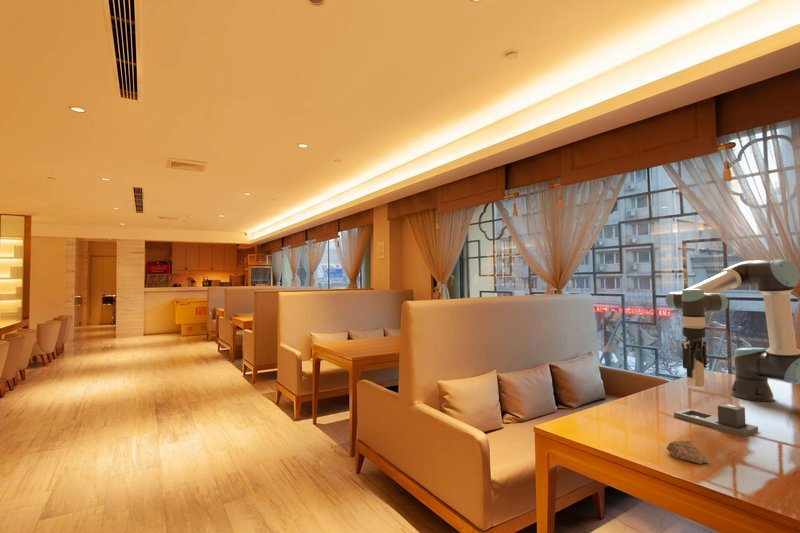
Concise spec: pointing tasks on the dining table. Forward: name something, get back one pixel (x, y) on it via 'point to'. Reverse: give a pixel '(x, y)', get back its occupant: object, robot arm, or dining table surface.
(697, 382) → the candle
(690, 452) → the rock
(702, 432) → the dining table surface
